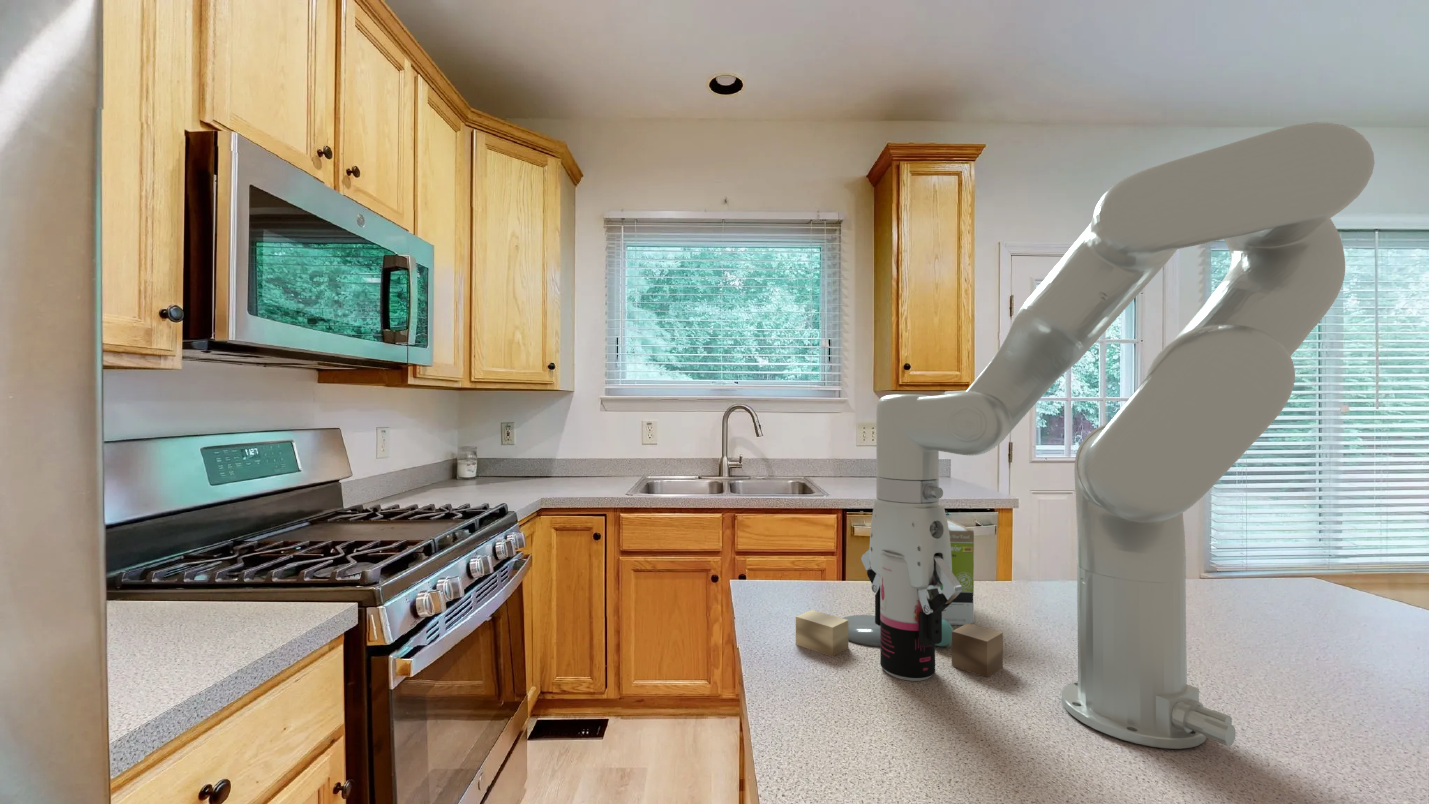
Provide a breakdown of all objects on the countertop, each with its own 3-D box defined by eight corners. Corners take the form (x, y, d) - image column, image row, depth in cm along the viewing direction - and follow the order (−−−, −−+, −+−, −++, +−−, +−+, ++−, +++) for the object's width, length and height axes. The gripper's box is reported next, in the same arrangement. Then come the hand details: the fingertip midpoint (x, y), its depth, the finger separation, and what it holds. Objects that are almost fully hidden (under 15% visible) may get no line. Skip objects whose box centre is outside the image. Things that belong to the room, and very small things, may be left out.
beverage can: (940, 684, 70) (940, 558, 70) (883, 680, 71) (883, 556, 71) (929, 661, 77) (928, 546, 77) (877, 657, 78) (877, 544, 78)
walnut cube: (1002, 668, 75) (1002, 632, 75) (987, 678, 72) (987, 641, 72) (968, 656, 78) (968, 623, 78) (951, 666, 75) (951, 631, 75)
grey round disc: (928, 638, 84) (928, 634, 84) (869, 652, 79) (869, 647, 79) (875, 614, 94) (875, 611, 94) (820, 625, 89) (820, 621, 89)
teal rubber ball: (959, 647, 81) (959, 621, 81) (940, 652, 79) (940, 625, 80) (939, 638, 84) (939, 613, 84) (920, 643, 83) (920, 617, 83)
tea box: (976, 626, 89) (976, 529, 90) (910, 625, 90) (910, 528, 90) (940, 595, 104) (940, 512, 105) (883, 595, 105) (883, 512, 105)
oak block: (848, 649, 81) (848, 620, 81) (832, 657, 78) (832, 627, 78) (812, 637, 85) (812, 609, 85) (795, 645, 82) (795, 616, 82)
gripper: (986, 499, 68) (986, 653, 68) (881, 482, 84) (881, 608, 83) (939, 503, 65) (939, 665, 64) (839, 485, 80) (839, 616, 80)
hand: (907, 632), depth 74 cm, fingers open, 6 cm apart
